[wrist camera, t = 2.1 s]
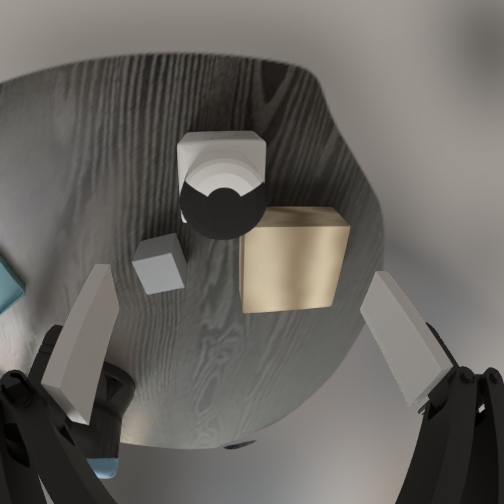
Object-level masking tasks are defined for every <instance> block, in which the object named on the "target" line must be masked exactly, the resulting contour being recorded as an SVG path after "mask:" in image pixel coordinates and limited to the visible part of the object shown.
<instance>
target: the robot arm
mask: <svg viewBox="0 0 504 504" xmlns="http://www.w3.org/2000/svg"><path fill="white" fill-rule="evenodd" d="M119 309H120V308H119V304H118V300H117V296H116V292H115V287H114V283H113V278H112V273H111V268H110V264H95V265H94V267H93V269H92V271H91V272H90V274H89V276H88V278H87V280H86V282H85V284H84V285H83V287H82V289H81V291H80V293H79V295H78V297H77V299H76V301H75V303H74V305H73V307H72V309H71V311H70V313H69V316H68V318H67V320H66V322H65V324H64V326H61V325H54V326H53V327H52V328H51V329H50V330H49V331H48V332H47V333H46V335H45V337H44V339H43V342H42V345H41V346H40V348H39V353H37V355H36V358H35V360H34V362H33V365H32V367H31V370H30V372H29V375H28V378H27V377H26V375H25V374H24V373H23V372H21V371H20V370H11V371H8V372H6V373H5V374H4V375H3V377H2V378H1V379H0V504H47V502H46V499H45V496H44V493H43V490H42V487H41V483H40V480H39V477H40V479H41V481H42V483H43V485H44V487H45V489H46V490H47V492H48V494H49V495H50V497H51V499H52V501H53V503H54V504H117V503H116V501H115V500H114V499H113V498H112V496H111V495H110V494H109V492H108V491H107V490H106V488H105V487H104V485H103V484H102V483H101V481H100V480H99V478H112V477H113V476H115V474H116V471H117V464H118V461H119V458H118V456H119V443H120V434H121V425H122V418H123V415H124V413H125V412H126V410H127V408H128V406H129V405H130V403H131V401H132V399H133V397H134V391H135V385H134V383H133V381H132V379H131V378H130V377H129V376H128V375H127V374H125V373H124V372H123V371H121V370H120V369H118V368H116V367H114V366H112V365H110V364H107V363H105V362H104V358H105V355H106V351H107V348H108V344H109V341H110V337H111V334H112V331H113V328H114V324H115V321H116V318H117V315H118V312H119ZM360 312H361V314H362V316H363V318H364V319H365V321H366V323H367V325H368V327H369V328H370V330H371V332H372V334H373V336H374V338H375V340H376V342H377V343H378V345H379V347H380V349H381V351H382V353H383V355H384V357H385V359H386V361H387V363H388V365H389V367H390V369H391V371H392V373H393V375H394V377H395V379H396V381H397V383H398V385H399V387H400V389H401V392H402V393H403V396H404V398H405V400H406V402H407V404H408V406H411V405H415V404H417V403H420V402H421V401H422V400H423V399H424V398H425V397H426V396H427V395H428V397H429V399H430V400H428V401H427V402H426V403H425V405H423V406H422V407H421V408H420V409H419V411H418V413H419V414H420V413H421V412H422V411H423V410H424V409H425V412H424V413H423V414H422V415H424V416H423V421H422V425H421V429H420V433H419V436H418V440H417V444H416V447H415V451H414V454H413V457H412V460H411V463H410V466H409V469H408V472H407V475H406V478H405V480H404V483H403V486H402V488H401V491H400V494H399V496H398V498H397V501H396V503H395V504H504V383H503V379H502V376H501V375H500V373H499V371H498V370H496V369H494V368H492V367H491V368H488V369H487V370H486V371H485V372H484V373H483V374H474V373H473V372H472V371H471V370H470V369H469V368H467V367H464V366H462V367H459V366H458V364H457V362H456V361H455V359H454V357H453V356H452V354H451V353H450V351H449V350H448V348H447V347H446V345H444V342H443V341H442V339H441V338H440V336H439V335H438V333H437V332H436V330H435V329H434V328H433V327H432V326H431V325H430V324H428V323H427V322H426V323H425V322H424V320H423V319H422V318H421V316H420V315H419V313H418V312H417V311H416V309H415V308H414V306H413V305H412V303H411V302H410V301H409V299H408V298H407V297H406V295H405V294H404V293H403V291H402V290H401V289H400V287H399V286H398V285H397V284H396V282H395V281H394V279H393V278H392V277H391V276H390V275H389V273H388V272H387V271H376V273H375V275H374V278H373V280H372V283H371V285H370V287H369V290H368V292H367V295H366V297H365V299H364V301H363V304H362V306H361V308H360ZM483 404H484V407H485V409H484V410H483V411H482V412H481V413H479V408H480V407H481V406H482V405H483ZM38 475H39V477H38Z"/></svg>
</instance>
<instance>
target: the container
mask: <svg viewBox="0 0 504 504" xmlns="http://www.w3.org/2000/svg"><path fill="white" fill-rule="evenodd" d="M177 156H178V175H179V191H180V208H181V217H182V221H183V222H184V223H188V224H189V226H190V227H191V228H192V229H193V230H195V231H196V232H197V233H199V234H201V235H203V236H205V237H208V238H211V239H216V240H229V239H234V238H238V237H240V236H243V235H245V234H246V233H248V232H250V231H251V230H252V229H253V228H254V227H255V226H256V225H257V224H258V223H259V222H260V220H261V219H262V217H263V215H264V213H265V210H266V206H267V190H266V186H265V184H264V182H265V160H266V142H265V141H264V140H263V139H262V138H260V137H259V136H258V135H257V134H256V133H255V132H254V131H206V132H188V133H186V134H185V136H184V137H183V138H182V139H181V141H180V142H179V143H178V145H177Z"/></svg>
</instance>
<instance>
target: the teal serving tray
mask: <svg viewBox="0 0 504 504" xmlns="http://www.w3.org/2000/svg"><path fill="white" fill-rule="evenodd" d="M24 295H25V286H24V284H23V283H22V282H21V280H20V279H19V278H18V277H17V276H16V274H15V273H14V272H13V271H12V269H11V268H10V267H9V265H8V264H7V263H6V261H5V260H4V259H3V257H2V256H1V255H0V316H1V315H2V314H3V313H4V312H5V311H6V310H7V309H9V308H10V307H11V306H12V305H13V304H14V303H15V302H17V301H18V300H19V299H20V298H21V297H22V296H24Z"/></svg>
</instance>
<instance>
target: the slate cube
mask: <svg viewBox="0 0 504 504" xmlns="http://www.w3.org/2000/svg"><path fill="white" fill-rule="evenodd" d="M132 264H133V266H134V268H135V270H136V272H137V275H138V277H139V279H140V281H141V283H142V285H143V287H144V289H145V291H146V293H147V295H148V294H153V293H159V292H164V291H169V290H174V289H179V288H184V287H185V278H186V269H187V263H186V261H185V258H184V255H183V252H182V249H181V246H180V243H179V240H178V237H177V234H176V233H172V234H168V235H163V236H159V237H155V238H151V239H147V240H143V241H140V243H139V246H138V248H137V250H136V253H135V255H134V258H133V260H132Z"/></svg>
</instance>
